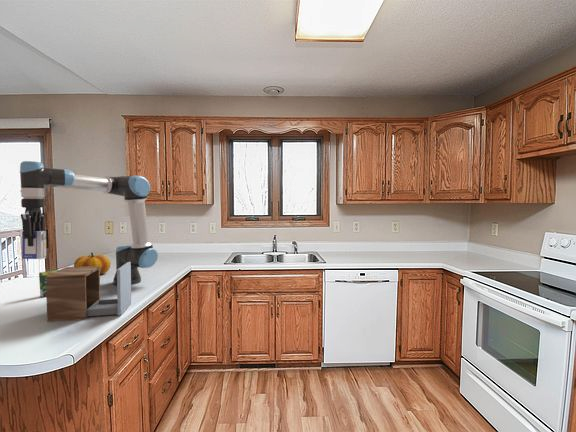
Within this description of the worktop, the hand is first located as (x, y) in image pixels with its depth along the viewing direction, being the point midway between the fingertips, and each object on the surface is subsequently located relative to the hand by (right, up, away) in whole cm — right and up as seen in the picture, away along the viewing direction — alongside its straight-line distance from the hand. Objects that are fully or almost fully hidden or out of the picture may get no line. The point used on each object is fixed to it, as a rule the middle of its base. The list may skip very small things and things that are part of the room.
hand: (34, 252), depth 129 cm
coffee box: (-16, -26, +29) cm, 43 cm away
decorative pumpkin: (-24, -24, +75) cm, 82 cm away
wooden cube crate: (+14, -27, +5) cm, 31 cm away
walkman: (0, -3, 0) cm, 3 cm away
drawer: (+27, -27, +8) cm, 39 cm away
